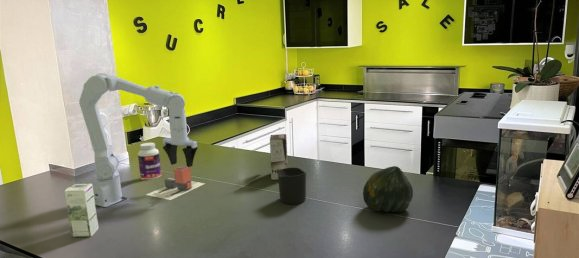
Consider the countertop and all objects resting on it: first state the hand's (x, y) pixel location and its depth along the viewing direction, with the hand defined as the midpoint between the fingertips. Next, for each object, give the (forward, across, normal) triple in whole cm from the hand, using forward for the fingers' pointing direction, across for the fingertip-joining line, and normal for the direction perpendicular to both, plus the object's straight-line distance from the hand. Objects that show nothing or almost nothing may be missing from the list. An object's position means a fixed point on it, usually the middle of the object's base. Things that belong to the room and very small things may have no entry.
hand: (181, 165), depth 154 cm
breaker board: (+10, +3, +1) cm, 11 cm away
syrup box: (+11, +4, +38) cm, 39 cm away
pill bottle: (+11, +24, -6) cm, 27 cm away
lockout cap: (+6, 0, 0) cm, 6 cm away
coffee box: (+11, -22, -30) cm, 39 cm away
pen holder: (+11, -40, -10) cm, 42 cm away
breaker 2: (+9, 0, 0) cm, 9 cm away
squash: (+11, -70, -16) cm, 73 cm away
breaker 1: (+9, +6, 0) cm, 11 cm away
